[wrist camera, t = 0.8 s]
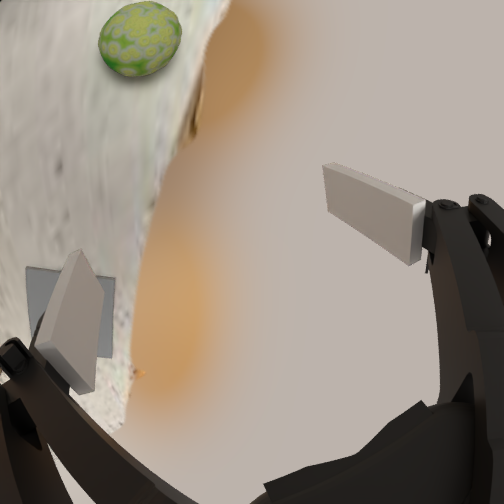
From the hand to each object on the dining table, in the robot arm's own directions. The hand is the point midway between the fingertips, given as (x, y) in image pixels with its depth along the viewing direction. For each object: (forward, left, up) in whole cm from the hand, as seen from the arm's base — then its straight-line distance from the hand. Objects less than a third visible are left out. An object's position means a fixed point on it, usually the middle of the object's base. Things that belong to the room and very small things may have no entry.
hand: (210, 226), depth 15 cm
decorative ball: (-17, +8, -27) cm, 32 cm away
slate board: (+5, -24, -26) cm, 36 cm away
